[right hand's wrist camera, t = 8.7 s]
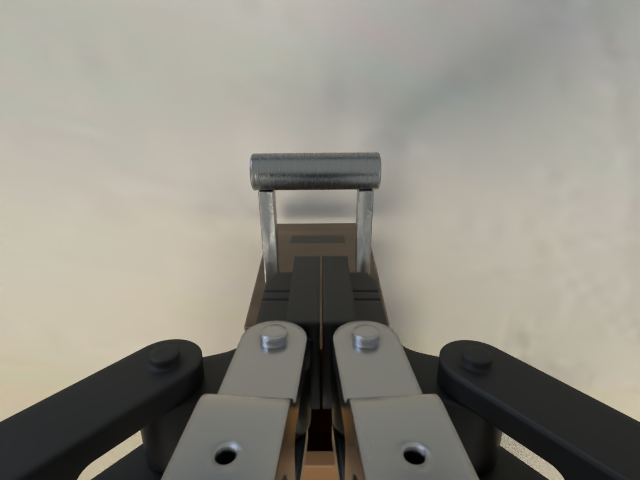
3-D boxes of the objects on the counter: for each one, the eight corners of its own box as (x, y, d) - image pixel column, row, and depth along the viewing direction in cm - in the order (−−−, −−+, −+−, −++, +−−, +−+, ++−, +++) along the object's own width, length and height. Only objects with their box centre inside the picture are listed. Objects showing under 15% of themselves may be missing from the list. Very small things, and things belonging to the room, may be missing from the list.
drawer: (263, 120, 22) (227, 177, 14) (370, 119, 22) (401, 176, 14) (284, 428, 32) (271, 572, 24) (357, 427, 32) (370, 571, 24)
